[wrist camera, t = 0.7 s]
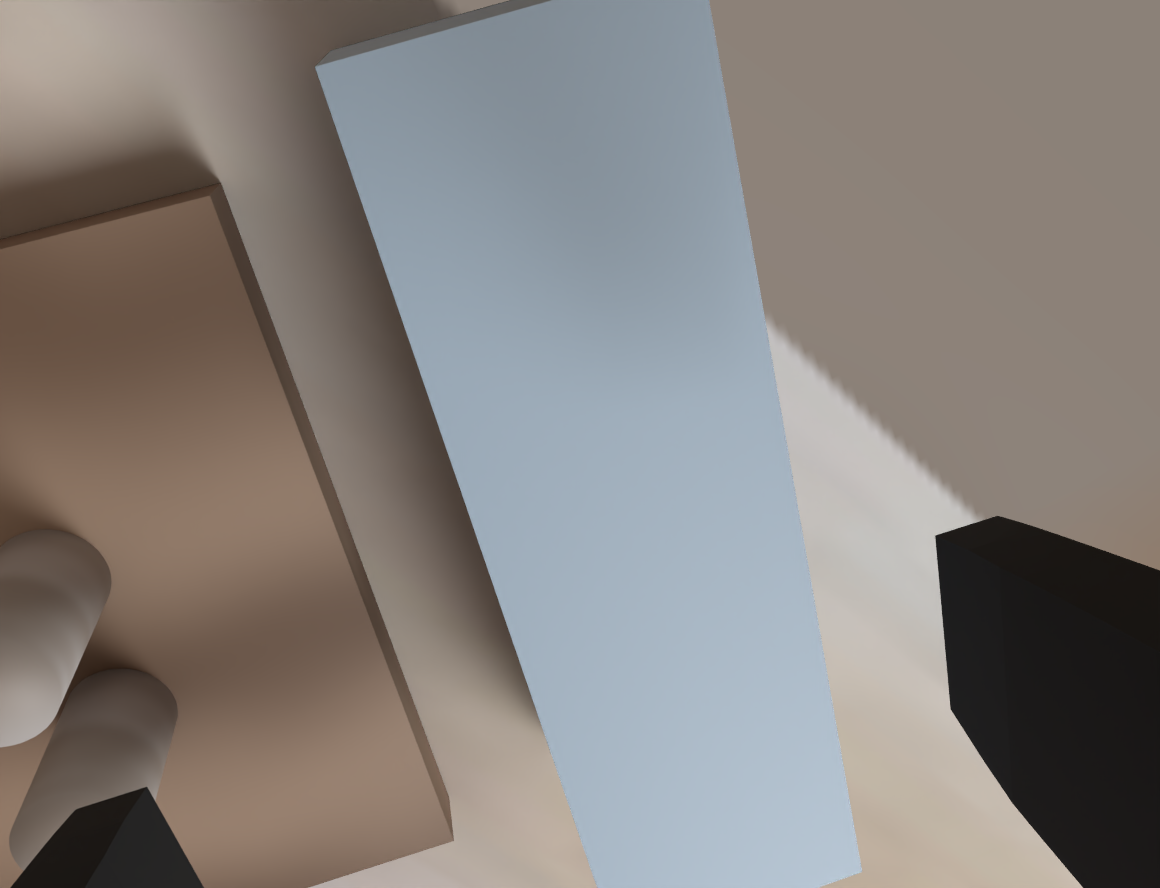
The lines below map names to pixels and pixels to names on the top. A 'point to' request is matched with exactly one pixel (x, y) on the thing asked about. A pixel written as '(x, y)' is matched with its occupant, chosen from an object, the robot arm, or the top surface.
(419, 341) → the pale blue rectangular block
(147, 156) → the top surface
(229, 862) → the peg stand
